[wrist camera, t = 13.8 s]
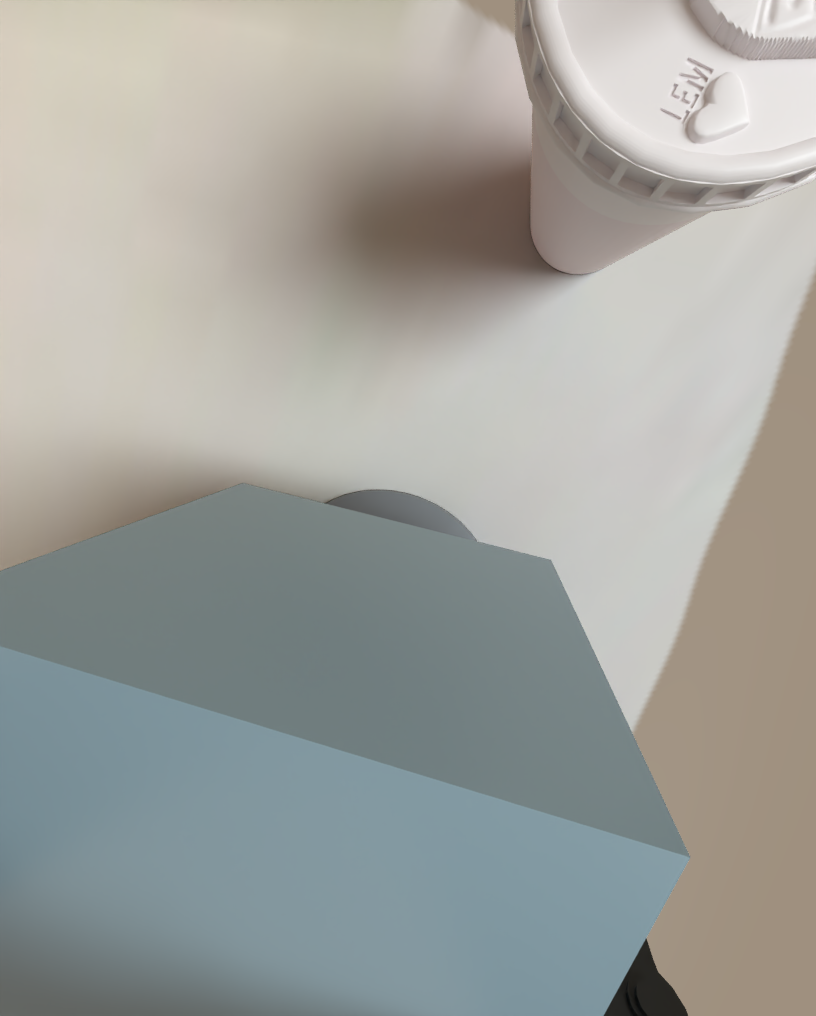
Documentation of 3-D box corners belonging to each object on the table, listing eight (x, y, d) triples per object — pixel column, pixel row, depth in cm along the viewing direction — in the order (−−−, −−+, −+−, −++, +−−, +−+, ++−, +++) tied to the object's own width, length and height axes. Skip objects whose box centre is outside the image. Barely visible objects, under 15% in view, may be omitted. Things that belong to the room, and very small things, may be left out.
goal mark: (267, 660, 21) (265, 663, 21) (294, 465, 18) (292, 466, 18) (465, 717, 20) (465, 720, 20) (524, 521, 17) (524, 522, 17)
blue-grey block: (218, 728, 17) (-42, 1061, 8) (242, 482, 14) (-113, 611, 6) (469, 806, 16) (463, 1270, 7) (551, 559, 13) (690, 857, 5)
